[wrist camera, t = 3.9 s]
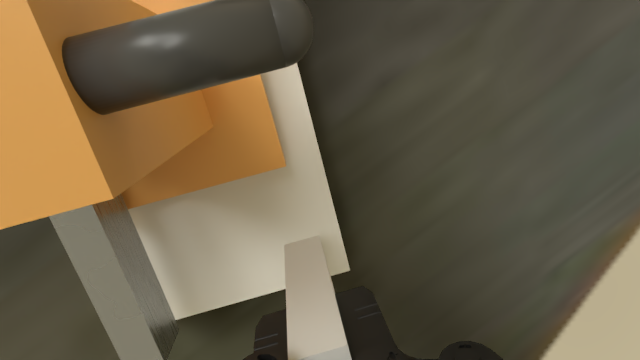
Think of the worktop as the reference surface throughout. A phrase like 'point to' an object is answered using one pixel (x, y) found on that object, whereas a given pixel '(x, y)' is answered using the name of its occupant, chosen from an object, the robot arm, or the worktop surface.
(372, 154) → the worktop surface
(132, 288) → the grey metal rod
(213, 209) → the socket block
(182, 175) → the plug
